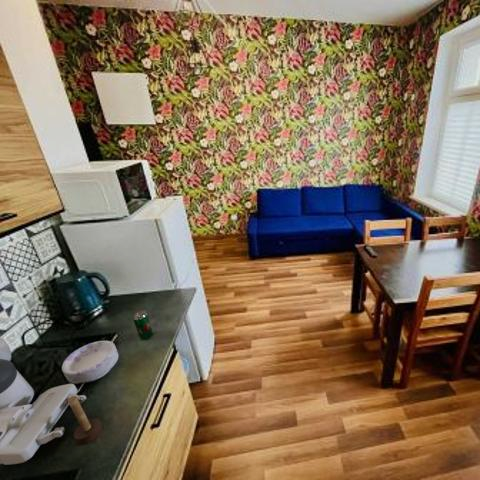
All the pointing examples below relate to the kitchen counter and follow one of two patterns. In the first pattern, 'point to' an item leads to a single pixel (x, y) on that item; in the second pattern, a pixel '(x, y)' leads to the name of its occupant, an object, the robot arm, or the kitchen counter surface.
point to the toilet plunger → (84, 424)
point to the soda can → (143, 325)
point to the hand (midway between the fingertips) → (74, 414)
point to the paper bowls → (90, 362)
